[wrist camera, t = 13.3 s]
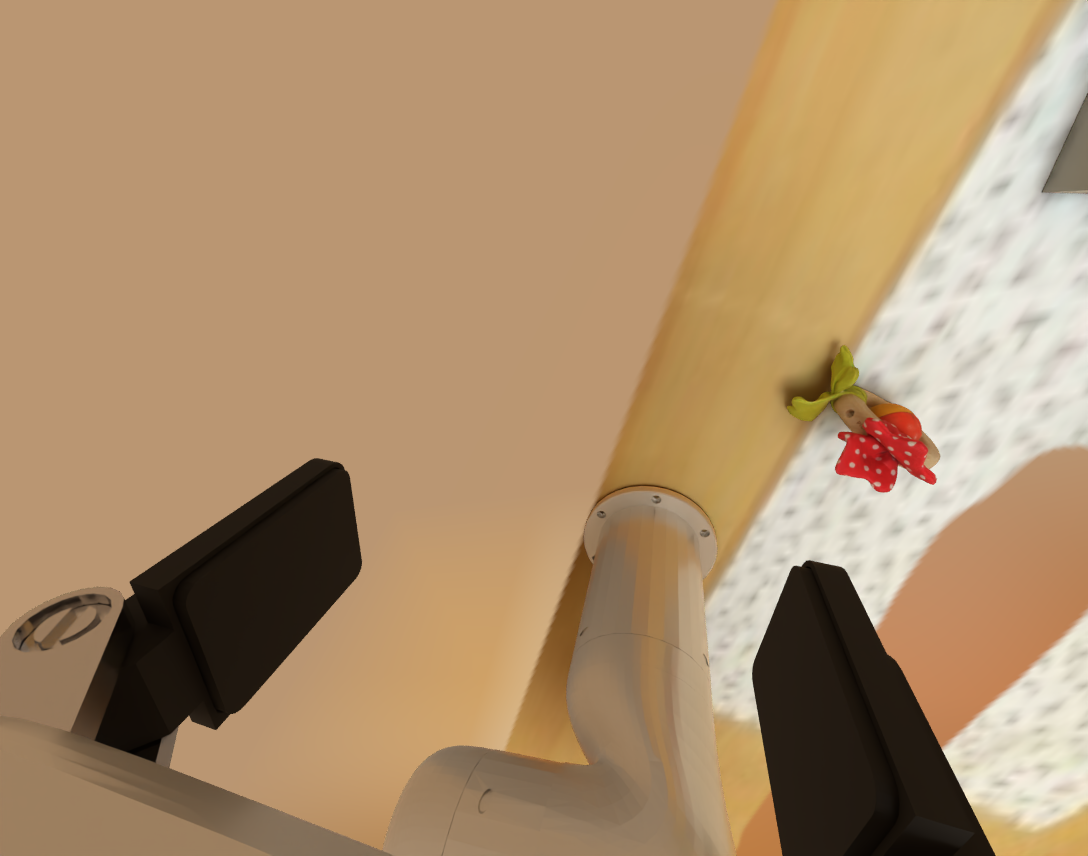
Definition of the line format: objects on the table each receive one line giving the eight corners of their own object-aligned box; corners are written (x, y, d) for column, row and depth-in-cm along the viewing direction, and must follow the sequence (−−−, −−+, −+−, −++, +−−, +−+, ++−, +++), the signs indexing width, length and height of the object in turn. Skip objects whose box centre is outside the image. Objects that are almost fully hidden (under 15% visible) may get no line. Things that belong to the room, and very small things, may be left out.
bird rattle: (899, 364, 35) (811, 329, 32) (1049, 452, 26) (946, 414, 23) (843, 428, 38) (759, 402, 35) (960, 527, 29) (859, 502, 26)
